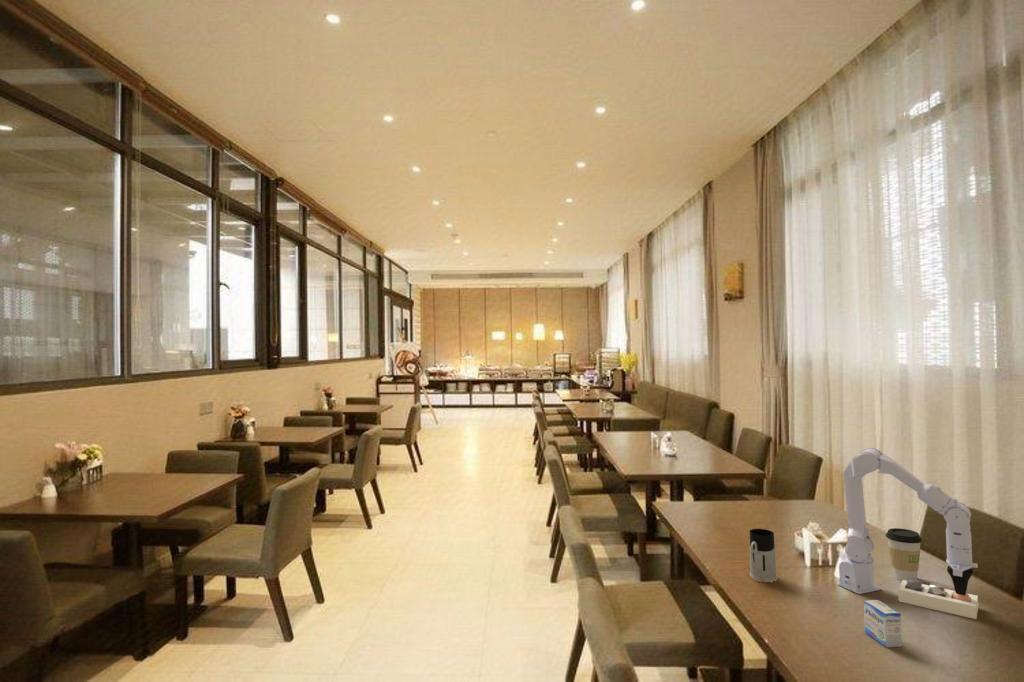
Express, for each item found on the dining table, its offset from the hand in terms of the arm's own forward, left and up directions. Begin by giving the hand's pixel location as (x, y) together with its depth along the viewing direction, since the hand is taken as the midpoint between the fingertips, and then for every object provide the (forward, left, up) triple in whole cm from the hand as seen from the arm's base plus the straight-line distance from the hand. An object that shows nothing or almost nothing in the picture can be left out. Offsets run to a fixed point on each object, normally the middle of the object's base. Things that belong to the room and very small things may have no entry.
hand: (960, 593), depth 161 cm
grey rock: (-3, +5, -2) cm, 6 cm away
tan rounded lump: (0, 0, -3) cm, 3 cm away
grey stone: (-5, +9, -2) cm, 11 cm away
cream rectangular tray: (-3, +5, -5) cm, 7 cm away
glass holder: (-37, +38, -5) cm, 53 cm away
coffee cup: (+7, +22, -5) cm, 23 cm away
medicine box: (-35, -4, -5) cm, 36 cm away
